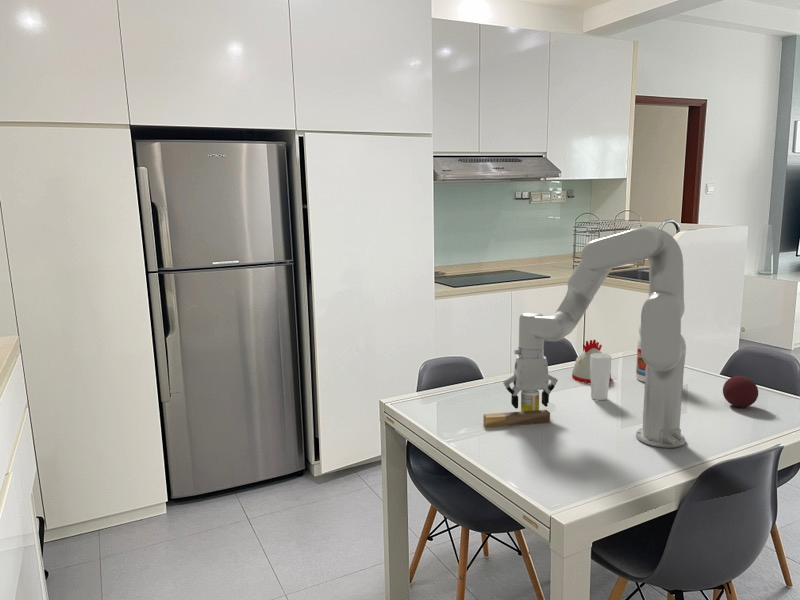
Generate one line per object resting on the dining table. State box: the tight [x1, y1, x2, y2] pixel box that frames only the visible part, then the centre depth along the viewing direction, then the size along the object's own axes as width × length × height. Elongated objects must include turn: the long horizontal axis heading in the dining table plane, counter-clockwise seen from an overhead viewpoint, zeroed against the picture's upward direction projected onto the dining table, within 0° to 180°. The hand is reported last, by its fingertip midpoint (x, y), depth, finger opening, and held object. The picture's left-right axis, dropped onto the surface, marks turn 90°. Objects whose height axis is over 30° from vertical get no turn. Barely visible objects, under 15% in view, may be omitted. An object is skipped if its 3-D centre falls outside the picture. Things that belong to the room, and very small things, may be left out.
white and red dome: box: [571, 339, 612, 385], centre depth 224 cm, size 14×14×15 cm
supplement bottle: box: [520, 390, 540, 412], centre depth 186 cm, size 6×6×10 cm
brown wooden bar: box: [482, 409, 551, 428], centre depth 181 cm, size 3×20×3 cm, turn 99°
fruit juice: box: [635, 323, 646, 383], centre depth 220 cm, size 9×9×28 cm
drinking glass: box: [590, 352, 612, 401], centre depth 201 cm, size 7×7×15 cm
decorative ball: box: [722, 375, 759, 408], centre depth 192 cm, size 10×10×10 cm
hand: (529, 406), depth 186 cm, fingers open, 9 cm apart
